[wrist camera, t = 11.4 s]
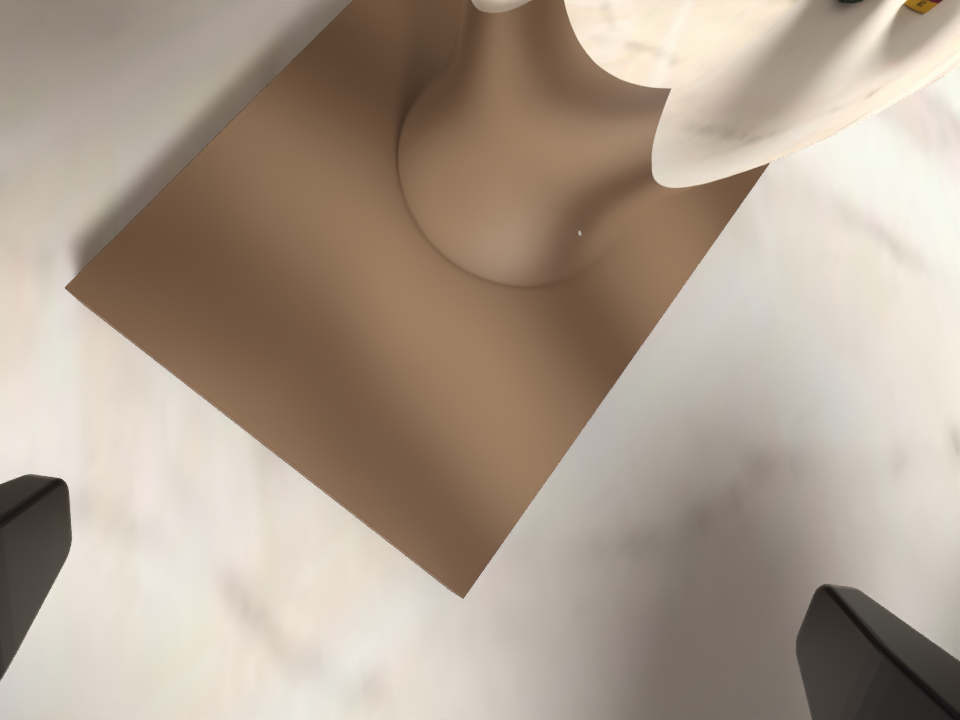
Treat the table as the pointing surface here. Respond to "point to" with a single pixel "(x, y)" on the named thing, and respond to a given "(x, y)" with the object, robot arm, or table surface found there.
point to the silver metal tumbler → (637, 111)
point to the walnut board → (382, 301)
